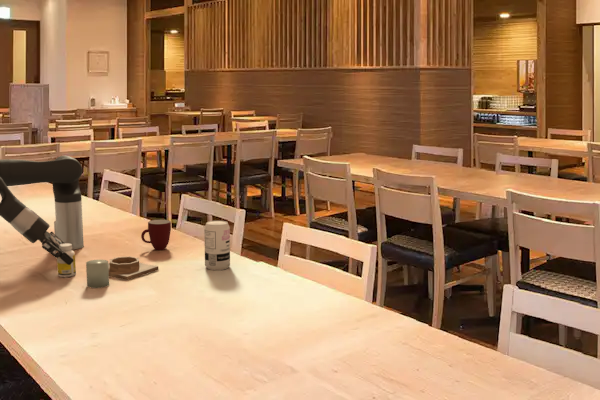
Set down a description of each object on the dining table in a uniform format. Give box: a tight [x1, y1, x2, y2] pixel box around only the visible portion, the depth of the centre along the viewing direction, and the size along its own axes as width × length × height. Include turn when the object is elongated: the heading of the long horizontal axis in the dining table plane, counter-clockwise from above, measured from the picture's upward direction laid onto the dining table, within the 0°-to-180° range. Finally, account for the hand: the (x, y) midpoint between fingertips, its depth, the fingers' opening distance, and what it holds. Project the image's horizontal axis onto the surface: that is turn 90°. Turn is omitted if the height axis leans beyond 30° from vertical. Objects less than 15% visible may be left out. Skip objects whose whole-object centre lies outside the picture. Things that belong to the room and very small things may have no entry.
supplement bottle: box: [56, 243, 77, 278], centre depth 221 cm, size 5×5×10 cm
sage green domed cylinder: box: [85, 259, 110, 289], centre depth 211 cm, size 6×6×7 cm
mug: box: [141, 219, 172, 251], centre depth 254 cm, size 11×8×10 cm
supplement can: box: [203, 220, 231, 271], centre depth 231 cm, size 8×8×15 cm
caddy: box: [108, 255, 159, 281], centre depth 226 cm, size 16×14×4 cm
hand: (72, 260), depth 221 cm, fingers closed on supplement bottle, 5 cm apart
